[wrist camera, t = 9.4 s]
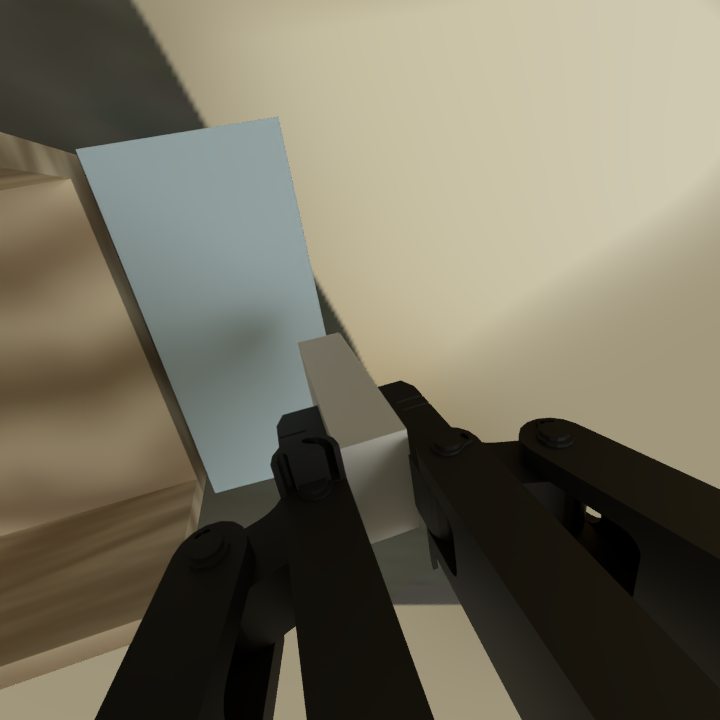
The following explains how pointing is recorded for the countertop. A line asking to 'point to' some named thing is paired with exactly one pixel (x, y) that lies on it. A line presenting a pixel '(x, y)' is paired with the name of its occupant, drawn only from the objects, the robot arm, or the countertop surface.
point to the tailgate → (216, 280)
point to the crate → (78, 428)
